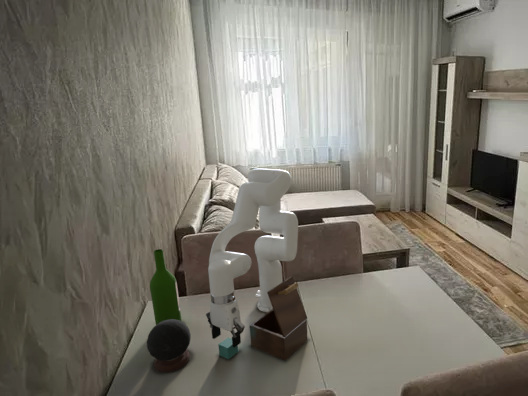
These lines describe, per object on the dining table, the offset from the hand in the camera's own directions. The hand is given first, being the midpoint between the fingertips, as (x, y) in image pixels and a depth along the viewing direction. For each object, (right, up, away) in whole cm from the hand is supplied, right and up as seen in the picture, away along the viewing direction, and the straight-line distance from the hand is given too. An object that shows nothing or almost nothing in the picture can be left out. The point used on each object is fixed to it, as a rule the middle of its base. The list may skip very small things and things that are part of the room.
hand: (226, 340), depth 133 cm
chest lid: (+21, +12, +1) cm, 24 cm away
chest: (+17, -4, +8) cm, 19 cm away
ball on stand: (-18, -6, -2) cm, 19 cm away
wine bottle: (-28, -1, +16) cm, 33 cm away
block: (0, -5, +2) cm, 6 cm away
